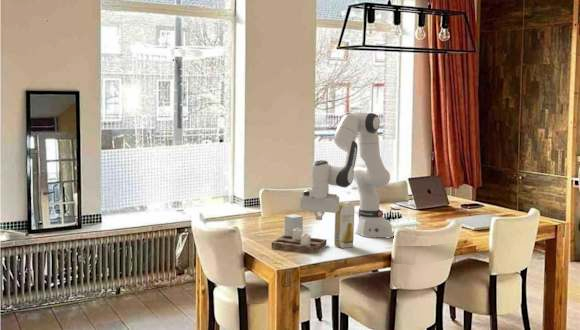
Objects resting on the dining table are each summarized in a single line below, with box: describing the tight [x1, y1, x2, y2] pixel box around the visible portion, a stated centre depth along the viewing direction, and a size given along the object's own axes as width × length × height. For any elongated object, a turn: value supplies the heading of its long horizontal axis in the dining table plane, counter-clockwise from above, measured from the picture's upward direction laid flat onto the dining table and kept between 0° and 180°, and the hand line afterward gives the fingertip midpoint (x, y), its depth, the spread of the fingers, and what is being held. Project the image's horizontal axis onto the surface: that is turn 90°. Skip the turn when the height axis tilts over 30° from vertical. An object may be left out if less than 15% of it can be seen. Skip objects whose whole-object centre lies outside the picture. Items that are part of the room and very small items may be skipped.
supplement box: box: [284, 213, 304, 235], centre depth 353 cm, size 7×7×13 cm
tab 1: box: [292, 228, 302, 240], centre depth 342 cm, size 4×4×7 cm
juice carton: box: [333, 201, 355, 249], centre depth 338 cm, size 9×8×24 cm
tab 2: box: [301, 232, 312, 246], centre depth 331 cm, size 4×4×7 cm
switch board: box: [271, 234, 327, 254], centre depth 337 cm, size 24×18×3 cm
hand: (318, 219), depth 326 cm, fingers closed
